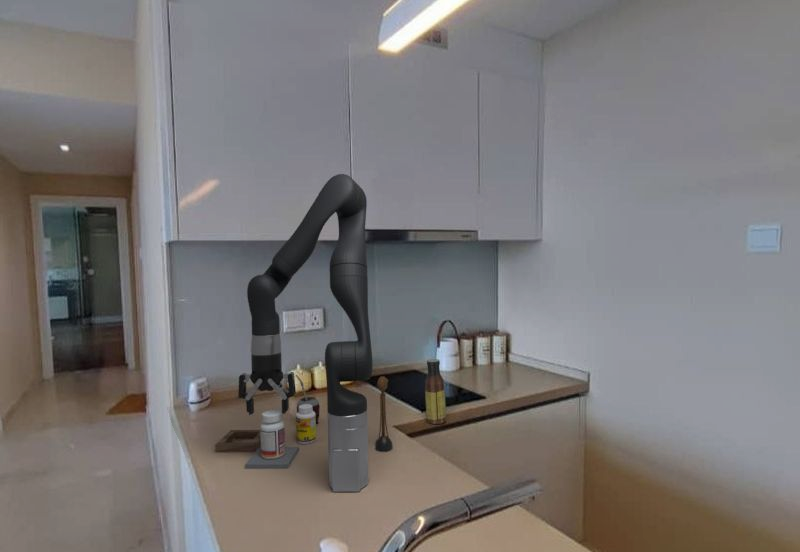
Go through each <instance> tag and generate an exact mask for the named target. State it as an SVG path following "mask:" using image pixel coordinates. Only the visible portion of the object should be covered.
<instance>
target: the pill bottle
mask: <svg viewBox="0 0 800 552" xmlns="http://www.w3.org/2000/svg"><path fill="white" fill-rule="evenodd" d="M261 422H262V423H261V424H260V428H259V430H260V436H261V445H260V447H261V455H262V457H263V458H265V459H276V458H280V457H282V456H283V455H284V454H285V447H286V435H285V433H286V432H285V431H286V429H285V422H284V421H283V414H282V410H280V409H269V410H266V411H264V412H262V413H261Z"/></svg>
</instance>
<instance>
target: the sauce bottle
mask: <svg viewBox="0 0 800 552" xmlns="http://www.w3.org/2000/svg"><path fill="white" fill-rule="evenodd" d="M440 362H441V361H440V359H437V358H431V359H426V365H427V375H426V378H425V379H424V393H425V394H424V395H425V396H424V397H425V412H426V413H425V414H426V421H427V422H428V423H429V424H430V425H441V424H445V422H446V421H447V411H446V410H447V409H446V393H445V392H446V391H445V383H444V378H443V376H442V375H441V371H440V366H441V365H440V364H441V363H440Z"/></svg>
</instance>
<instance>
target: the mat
mask: <svg viewBox="0 0 800 552" xmlns="http://www.w3.org/2000/svg"><path fill="white" fill-rule="evenodd" d="M299 451H300V447H299V446H285V454H284V455H283V456H282V457H280V458H276V459H265V458H263V457H262V455H261V446H259V447H258V449H257V450H256V451H255V452H253V454H252V455H251V457H250V458H249V459H248V460H247V461H246V462H245V464H244V469H289V468H290V466H291V464H292V463H293V461H294V460H295V458H296V456H297V454H298V453H299Z"/></svg>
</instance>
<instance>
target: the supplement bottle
mask: <svg viewBox="0 0 800 552" xmlns="http://www.w3.org/2000/svg"><path fill="white" fill-rule="evenodd" d="M298 411H299V412H298V413H297V412H296V414H295V432H296V437H295V438H296V441H297V443H298V444H301V445H308V444H312V443H314V442H315V441H316V439H317V427H316V426H317V424H316V415H315V412H314V411H313V408H312V405H310V404H303V405H300V406H299V410H298Z"/></svg>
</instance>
